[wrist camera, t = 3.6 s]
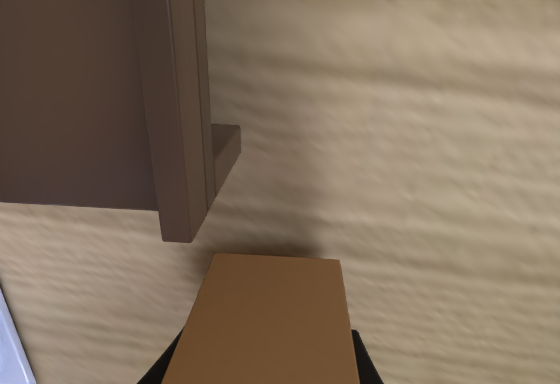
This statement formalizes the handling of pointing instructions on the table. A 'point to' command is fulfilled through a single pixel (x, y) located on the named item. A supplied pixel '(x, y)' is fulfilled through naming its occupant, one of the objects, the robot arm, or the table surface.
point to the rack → (111, 109)
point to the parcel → (267, 324)
